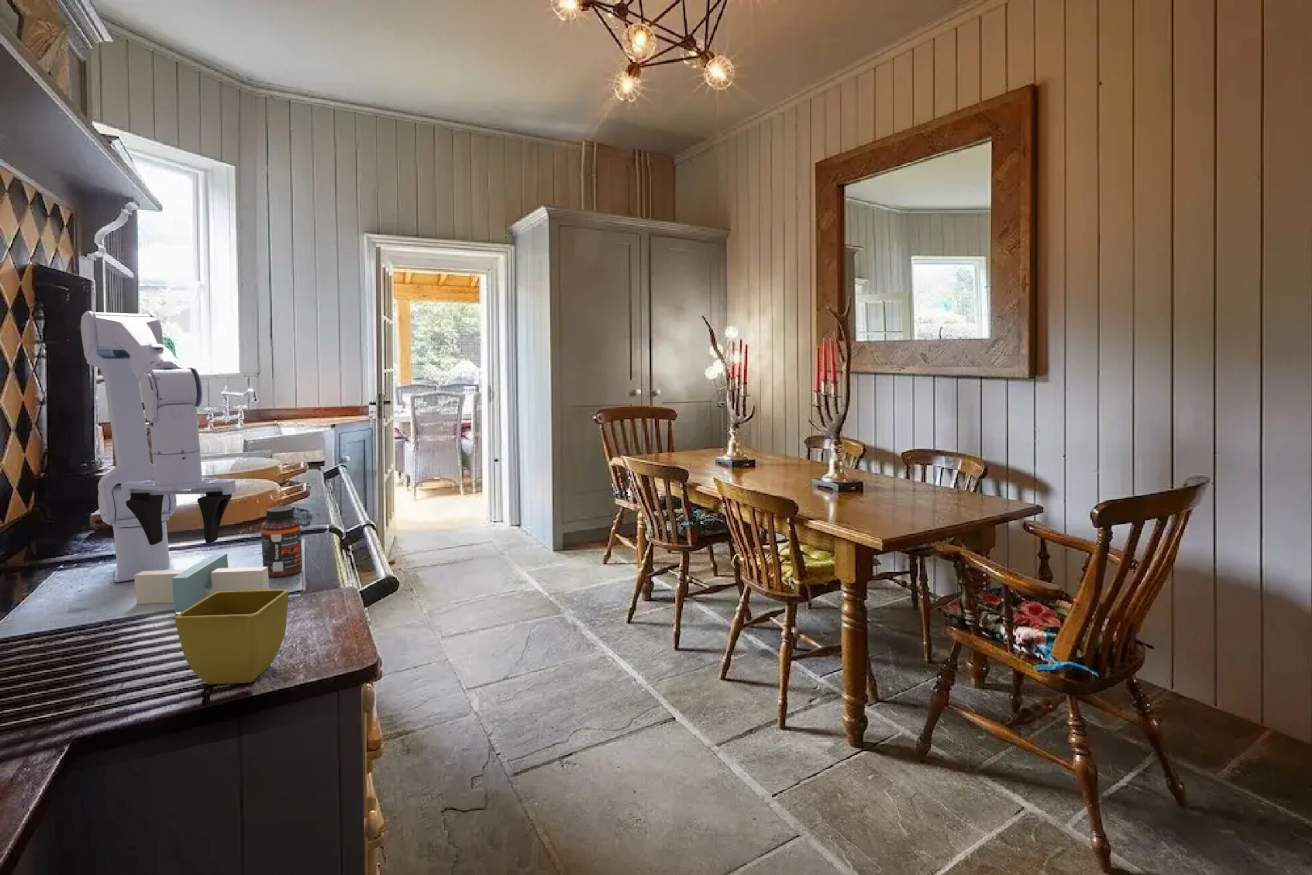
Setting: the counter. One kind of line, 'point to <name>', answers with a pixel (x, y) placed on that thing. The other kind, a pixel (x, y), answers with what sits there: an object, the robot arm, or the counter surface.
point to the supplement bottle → (281, 542)
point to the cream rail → (223, 579)
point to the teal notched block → (195, 581)
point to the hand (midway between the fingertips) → (184, 542)
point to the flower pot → (233, 634)
